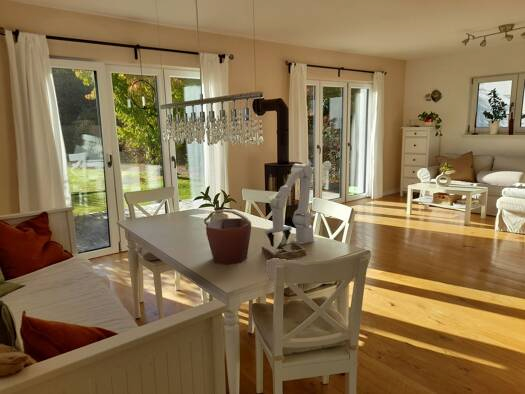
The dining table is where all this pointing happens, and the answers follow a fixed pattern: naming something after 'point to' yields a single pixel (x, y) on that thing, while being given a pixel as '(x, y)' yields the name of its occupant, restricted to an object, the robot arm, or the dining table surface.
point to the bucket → (228, 238)
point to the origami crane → (284, 244)
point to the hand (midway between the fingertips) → (278, 245)
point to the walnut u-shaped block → (296, 252)
